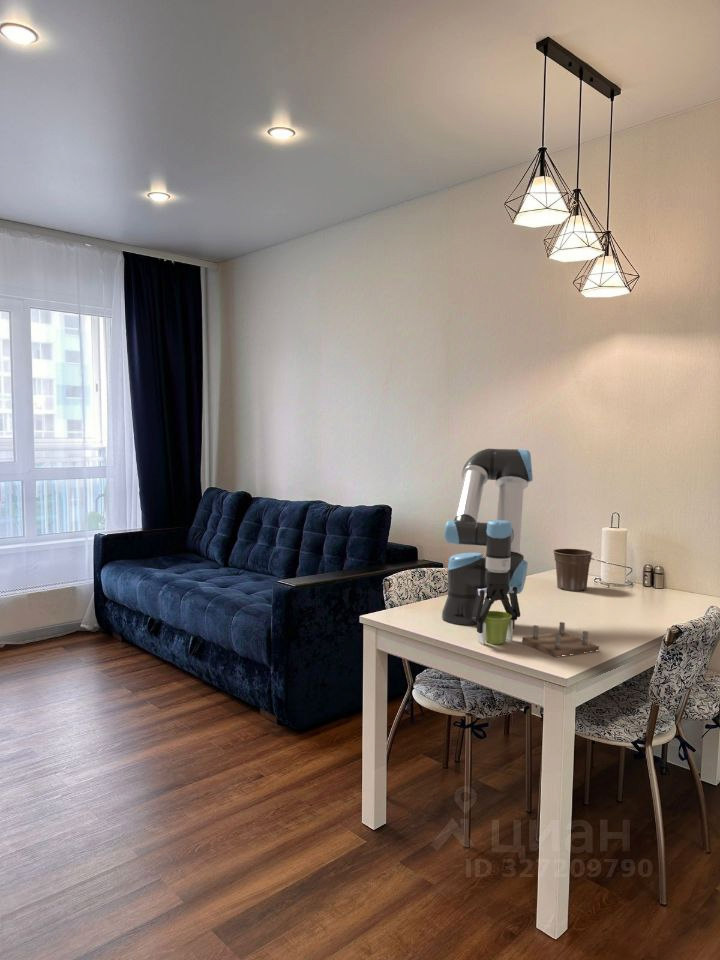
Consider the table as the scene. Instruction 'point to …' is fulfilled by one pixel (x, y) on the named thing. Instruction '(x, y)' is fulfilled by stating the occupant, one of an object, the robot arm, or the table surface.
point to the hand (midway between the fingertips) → (495, 641)
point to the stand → (560, 642)
